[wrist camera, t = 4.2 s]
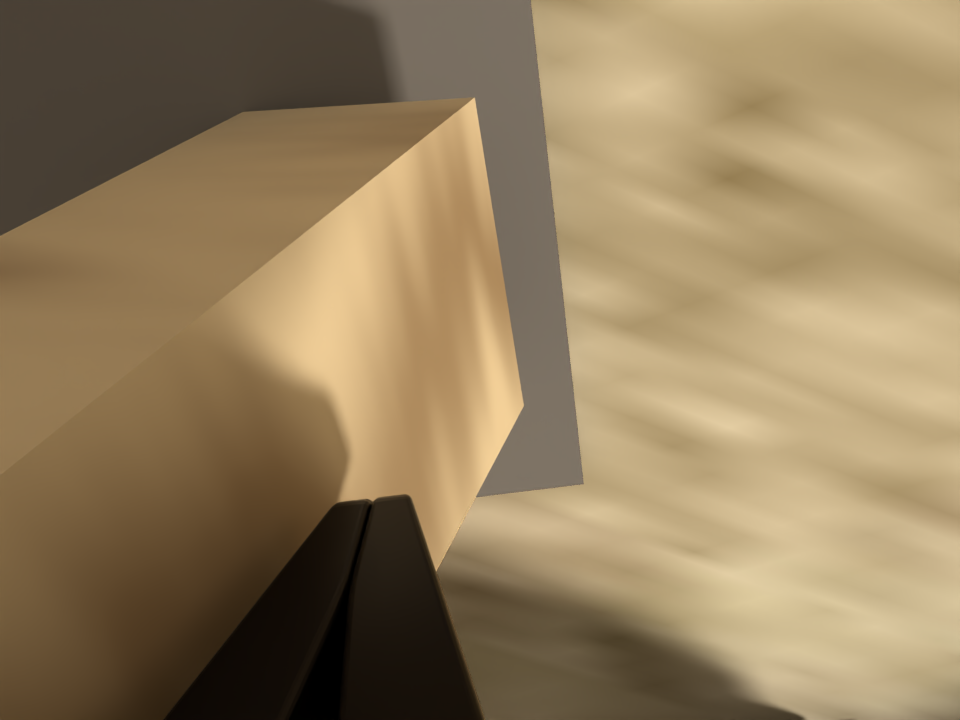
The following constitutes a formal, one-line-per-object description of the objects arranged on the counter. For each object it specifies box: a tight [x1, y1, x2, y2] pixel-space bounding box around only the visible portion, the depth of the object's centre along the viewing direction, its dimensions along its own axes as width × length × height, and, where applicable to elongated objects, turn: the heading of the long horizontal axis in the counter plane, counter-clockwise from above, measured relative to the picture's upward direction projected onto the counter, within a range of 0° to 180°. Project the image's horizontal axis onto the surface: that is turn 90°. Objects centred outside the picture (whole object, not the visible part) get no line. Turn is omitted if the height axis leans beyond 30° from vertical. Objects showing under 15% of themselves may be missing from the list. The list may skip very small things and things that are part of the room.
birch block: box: [0, 97, 524, 720], centre depth 9 cm, size 6×5×11 cm
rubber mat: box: [0, 0, 584, 497], centre depth 15 cm, size 14×18×1 cm
